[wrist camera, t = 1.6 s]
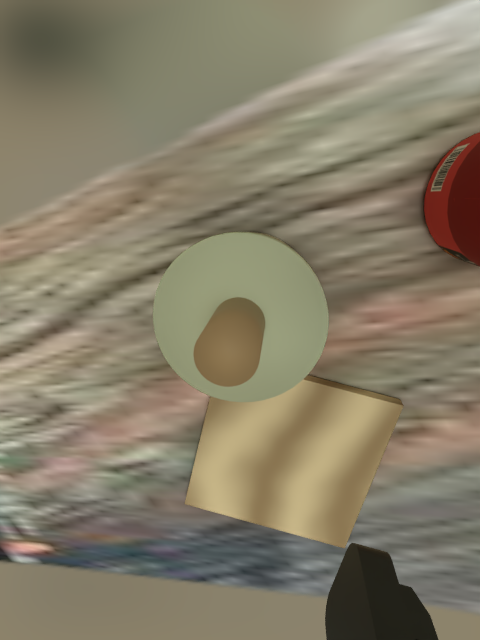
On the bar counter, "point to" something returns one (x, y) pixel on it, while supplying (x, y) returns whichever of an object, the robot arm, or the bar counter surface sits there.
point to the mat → (294, 458)
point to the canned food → (456, 201)
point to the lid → (241, 317)
